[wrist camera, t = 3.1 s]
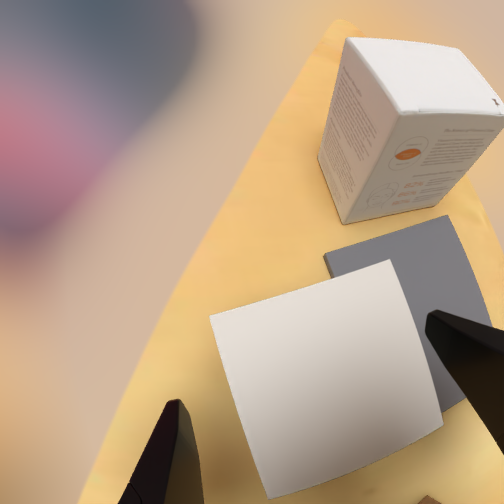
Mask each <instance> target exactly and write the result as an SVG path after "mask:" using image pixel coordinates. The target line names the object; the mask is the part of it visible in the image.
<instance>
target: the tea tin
mask: <svg viewBox="0 0 504 504" xmlns="http://www.w3.org/2000/svg"><path fill="white" fill-rule="evenodd" d="M209 318H210V321H211V325H212V329H213V332H214V336H215V339H216V343H217V346H218V350H219V353H220V356H221V360H222V363H223V367H224V370H225V373H226V376H227V380H228V383H229V386H230V389H231V393H232V396H233V399H234V402H235V405H236V408H237V412H238V415H239V418H240V421H241V424H242V427H243V430H244V433H245V436H246V439H247V442H248V445H249V448H250V451H251V453H252V456H253V459H254V462H255V465H256V468H257V470H258V473H259V476H260V479H261V482H262V484H263V487H264V490H265V492H266V495H267V498H268V500H270V499H273V498H277V497H281V496H284V495H288V494H291V493H295V492H298V491H301V490H304V489H307V488H310V487H313V486H316V485H319V484H322V483H325V482H327V481H330V480H333V479H336V478H338V477H341V476H343V475H346V474H348V473H351V472H353V471H356V470H358V469H360V468H363V467H365V466H367V465H369V464H372V463H374V462H376V461H378V460H380V459H382V458H385V457H387V456H389V455H391V454H393V453H395V452H397V451H399V450H401V449H403V448H404V447H406V446H408V445H410V444H412V443H414V442H416V441H417V440H419V439H421V438H423V437H425V436H426V435H428V434H430V433H431V432H433V431H435V430H437V429H438V428H440V427H441V426H443V425H444V423H443V419H442V415H441V410H440V406H439V403H438V399H437V395H436V391H435V387H434V384H433V380H432V377H431V373H430V370H429V366H428V363H427V360H426V357H425V353H424V350H423V347H422V344H421V341H420V338H419V335H418V332H417V329H416V326H415V323H414V320H413V318H412V315H411V312H410V309H409V306H408V304H407V301H406V298H405V296H404V293H403V290H402V288H401V285H400V283H399V280H398V278H397V275H396V273H395V270H394V268H393V265H392V263H391V261H390V259H388V260H385V261H383V262H380V263H377V264H374V265H371V266H368V267H365V268H362V269H359V270H356V271H354V272H351V273H348V274H345V275H342V276H339V277H335V278H332V279H329V280H326V281H323V282H320V283H317V284H314V285H311V286H308V287H304V288H301V289H298V290H295V291H292V292H289V293H285V294H282V295H279V296H275V297H272V298H269V299H266V300H262V301H259V302H255V303H252V304H249V305H245V306H242V307H238V308H235V309H231V310H228V311H224V312H221V313H217V314H214V315H210V316H209Z"/></svg>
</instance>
